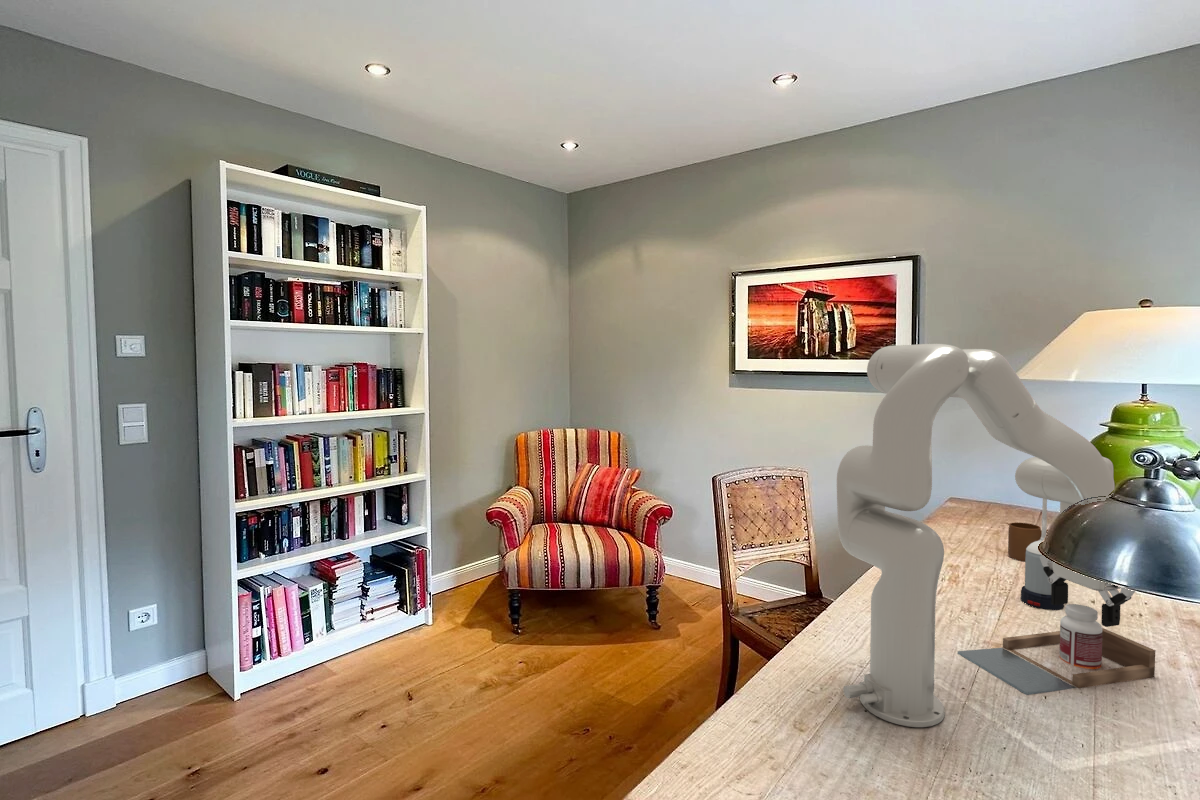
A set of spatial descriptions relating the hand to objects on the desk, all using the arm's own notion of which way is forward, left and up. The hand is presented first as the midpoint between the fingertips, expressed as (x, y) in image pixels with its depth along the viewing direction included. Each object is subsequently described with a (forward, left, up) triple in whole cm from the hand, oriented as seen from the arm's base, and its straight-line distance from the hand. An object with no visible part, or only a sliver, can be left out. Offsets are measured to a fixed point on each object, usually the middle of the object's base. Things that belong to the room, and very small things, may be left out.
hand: (1083, 614), depth 114 cm
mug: (+44, +52, -10) cm, 69 cm away
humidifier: (+19, +26, -10) cm, 34 cm away
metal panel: (-10, 0, -9) cm, 13 cm away
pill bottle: (-1, 0, -10) cm, 10 cm away
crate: (-2, 0, -10) cm, 10 cm away
